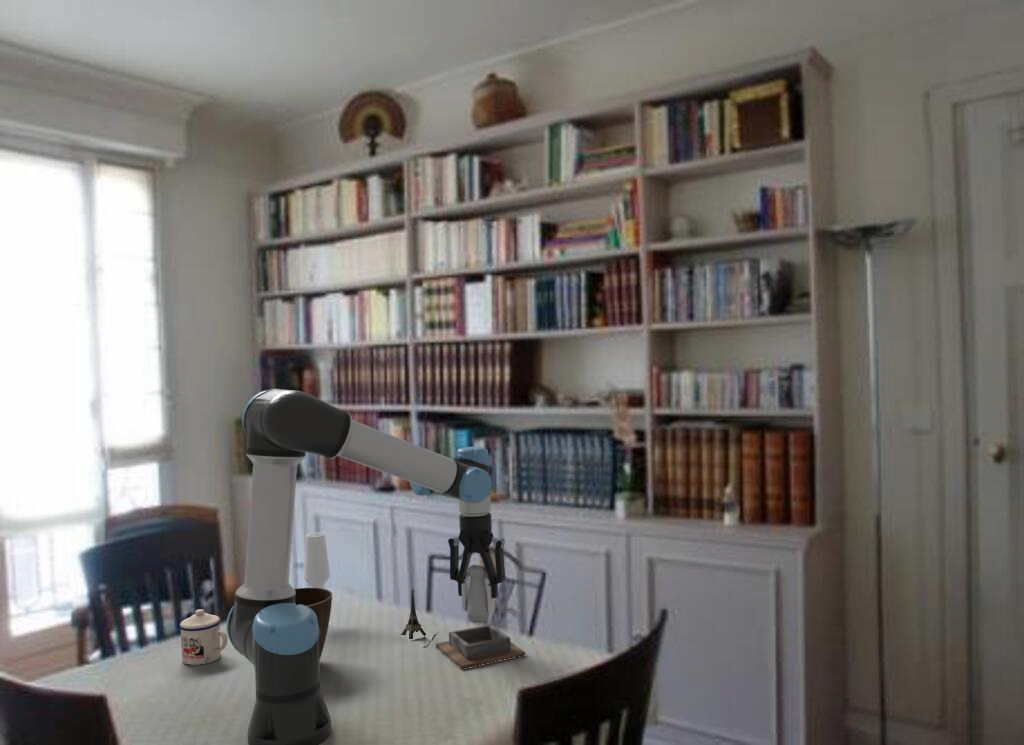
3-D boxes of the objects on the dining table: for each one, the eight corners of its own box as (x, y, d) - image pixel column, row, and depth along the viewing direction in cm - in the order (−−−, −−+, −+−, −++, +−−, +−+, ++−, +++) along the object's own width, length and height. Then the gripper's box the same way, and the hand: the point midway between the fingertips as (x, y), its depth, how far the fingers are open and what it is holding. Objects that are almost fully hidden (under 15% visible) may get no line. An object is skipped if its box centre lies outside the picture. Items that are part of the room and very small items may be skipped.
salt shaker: (462, 622, 191) (460, 567, 191) (474, 614, 196) (472, 561, 196) (483, 625, 188) (481, 569, 188) (495, 617, 193) (493, 563, 193)
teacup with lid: (172, 663, 191) (170, 614, 190) (199, 650, 199) (197, 603, 199) (213, 669, 187) (211, 619, 186) (240, 655, 195) (238, 606, 195)
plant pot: (311, 682, 177) (308, 609, 177) (253, 675, 182) (251, 604, 182) (346, 657, 192) (344, 589, 191) (292, 651, 196) (290, 585, 196)
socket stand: (525, 656, 189) (524, 639, 188) (461, 670, 182) (460, 652, 181) (496, 635, 203) (495, 619, 203) (435, 647, 196) (435, 631, 196)
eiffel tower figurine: (426, 650, 196) (425, 595, 196) (386, 648, 198) (384, 594, 198) (442, 628, 211) (441, 577, 210) (405, 627, 213) (403, 576, 212)
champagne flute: (324, 618, 220) (321, 530, 220) (336, 624, 215) (332, 534, 214) (301, 624, 216) (297, 534, 215) (312, 630, 211) (309, 538, 210)
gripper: (518, 511, 192) (521, 608, 193) (444, 508, 198) (448, 602, 199) (507, 517, 185) (511, 618, 185) (432, 514, 191) (435, 612, 192)
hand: (478, 610), depth 192 cm, fingers closed on salt shaker, 6 cm apart
